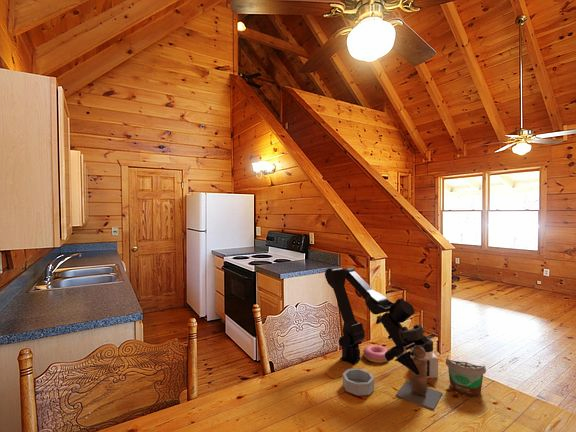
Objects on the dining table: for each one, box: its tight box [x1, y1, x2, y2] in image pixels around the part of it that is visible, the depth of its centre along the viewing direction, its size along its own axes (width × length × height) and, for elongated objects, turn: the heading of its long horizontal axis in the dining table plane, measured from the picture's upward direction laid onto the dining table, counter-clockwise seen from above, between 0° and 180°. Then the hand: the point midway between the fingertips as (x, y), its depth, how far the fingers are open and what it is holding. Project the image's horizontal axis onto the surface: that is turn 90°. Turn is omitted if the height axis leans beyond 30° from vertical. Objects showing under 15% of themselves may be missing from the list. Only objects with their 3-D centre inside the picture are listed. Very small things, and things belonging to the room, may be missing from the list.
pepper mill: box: [410, 346, 428, 395], centre depth 105 cm, size 5×5×15 cm
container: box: [409, 337, 439, 379], centre depth 120 cm, size 8×8×13 cm
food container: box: [445, 356, 487, 398], centre depth 106 cm, size 12×6×10 cm, turn 62°
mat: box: [395, 380, 443, 411], centre depth 106 cm, size 12×11×1 cm
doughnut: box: [362, 344, 388, 364], centre depth 132 cm, size 11×11×4 cm
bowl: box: [342, 368, 375, 396], centre depth 110 cm, size 10×10×4 cm
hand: (422, 371), depth 104 cm, fingers closed on pepper mill, 5 cm apart
